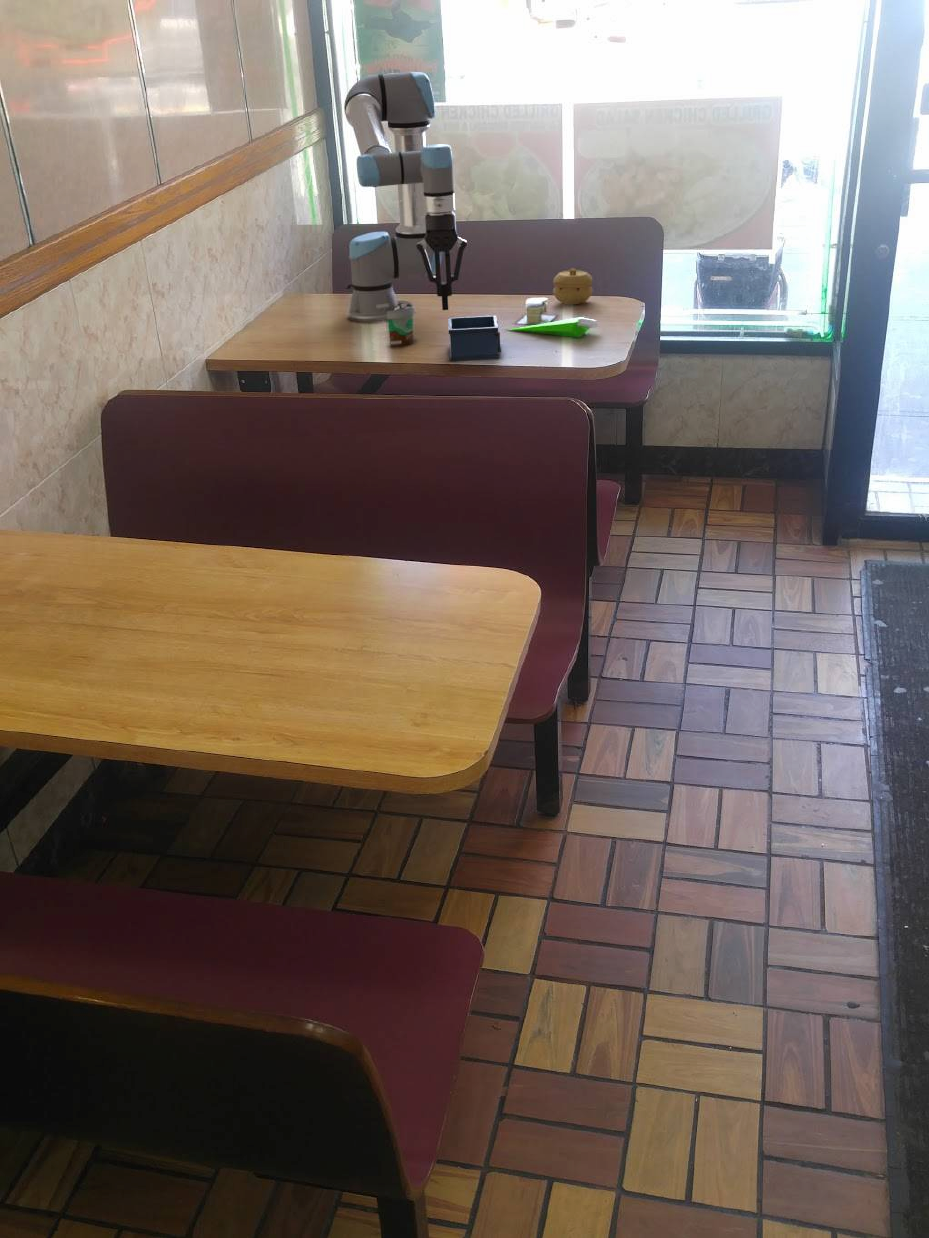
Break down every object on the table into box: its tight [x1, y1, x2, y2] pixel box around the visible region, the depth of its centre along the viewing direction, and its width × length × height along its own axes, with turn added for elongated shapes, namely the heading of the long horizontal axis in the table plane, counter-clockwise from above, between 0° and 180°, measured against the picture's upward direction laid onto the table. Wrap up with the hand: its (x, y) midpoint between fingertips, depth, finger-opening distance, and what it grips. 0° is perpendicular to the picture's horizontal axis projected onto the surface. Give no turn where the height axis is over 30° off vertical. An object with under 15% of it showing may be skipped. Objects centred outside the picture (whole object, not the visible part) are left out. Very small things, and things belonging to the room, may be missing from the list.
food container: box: [387, 300, 417, 348], centre depth 306 cm, size 12×6×10 cm, turn 168°
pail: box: [447, 314, 502, 362], centre depth 294 cm, size 13×8×13 cm
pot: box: [552, 268, 594, 305], centre depth 336 cm, size 12×12×10 cm
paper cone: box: [508, 316, 599, 339], centre depth 308 cm, size 11×5×25 cm
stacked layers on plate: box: [516, 297, 557, 325], centre depth 321 cm, size 10×9×6 cm
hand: (445, 308), depth 290 cm, fingers closed
